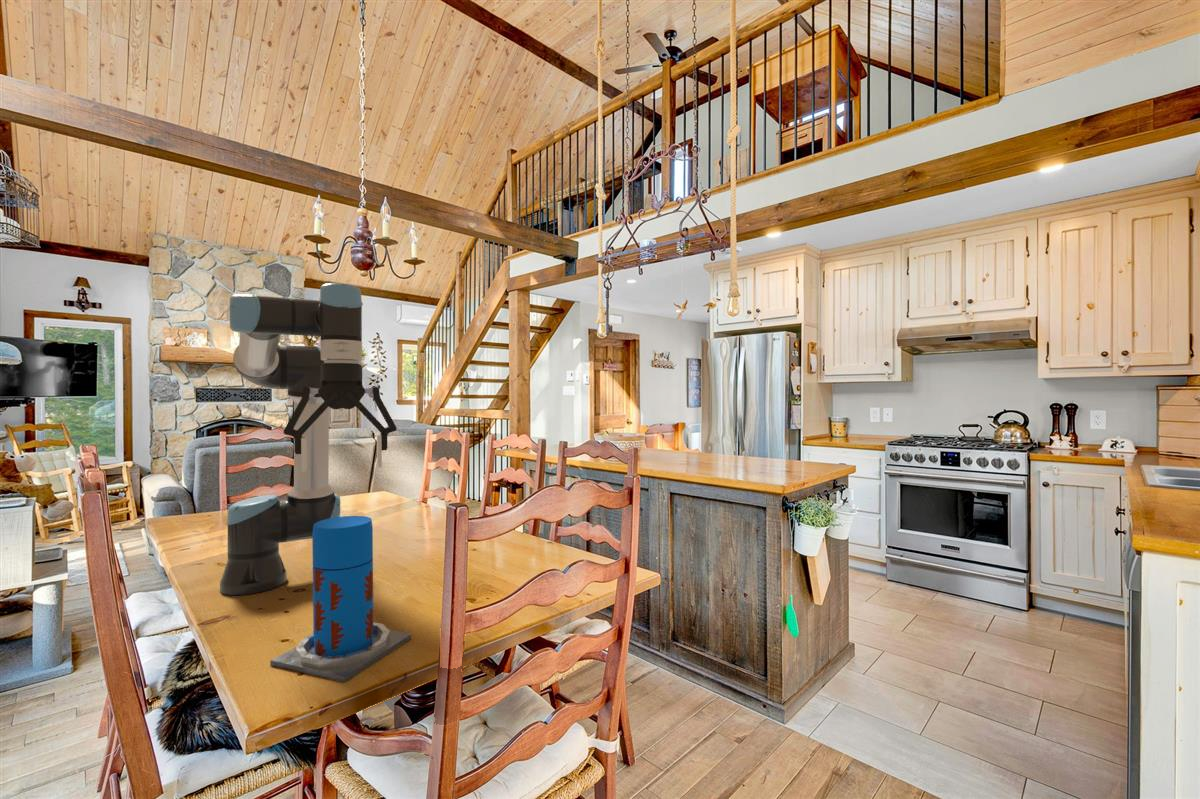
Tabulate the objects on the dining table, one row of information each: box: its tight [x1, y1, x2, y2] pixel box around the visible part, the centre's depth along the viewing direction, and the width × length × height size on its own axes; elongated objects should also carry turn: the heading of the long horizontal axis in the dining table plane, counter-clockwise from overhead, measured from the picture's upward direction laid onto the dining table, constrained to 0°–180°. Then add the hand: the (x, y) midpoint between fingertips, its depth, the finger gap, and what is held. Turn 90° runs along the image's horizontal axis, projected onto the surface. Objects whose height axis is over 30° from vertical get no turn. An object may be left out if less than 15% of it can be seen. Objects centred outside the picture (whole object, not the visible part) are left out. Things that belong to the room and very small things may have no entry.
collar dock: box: [269, 621, 413, 683], centre depth 108 cm, size 18×18×2 cm
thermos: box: [311, 515, 374, 657], centre depth 108 cm, size 11×11×25 cm
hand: (342, 468), depth 108 cm, fingers open, 13 cm apart
